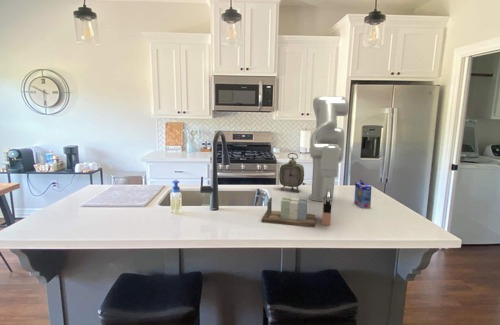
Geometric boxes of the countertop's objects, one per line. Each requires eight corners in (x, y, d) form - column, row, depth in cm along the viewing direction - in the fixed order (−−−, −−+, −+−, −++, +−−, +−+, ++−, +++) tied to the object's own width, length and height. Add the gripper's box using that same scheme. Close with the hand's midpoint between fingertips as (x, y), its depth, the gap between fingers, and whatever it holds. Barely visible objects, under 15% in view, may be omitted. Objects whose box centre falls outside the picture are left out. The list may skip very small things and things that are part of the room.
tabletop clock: (278, 190, 194) (280, 152, 190) (283, 187, 202) (285, 151, 198) (299, 193, 188) (301, 154, 184) (304, 190, 195) (306, 152, 191)
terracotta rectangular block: (322, 219, 141) (323, 195, 139) (329, 220, 140) (331, 195, 138) (322, 224, 134) (323, 199, 132) (330, 225, 134) (331, 200, 132)
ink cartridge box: (353, 202, 169) (355, 178, 167) (362, 202, 170) (364, 178, 167) (360, 208, 160) (362, 182, 157) (370, 208, 160) (372, 182, 158)
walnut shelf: (266, 213, 149) (267, 193, 147) (315, 217, 144) (316, 197, 142) (261, 221, 136) (262, 201, 135) (314, 227, 131) (315, 205, 130)
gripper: (320, 169, 143) (318, 203, 145) (320, 175, 126) (318, 214, 128) (336, 170, 141) (334, 204, 143) (339, 176, 124) (336, 216, 127)
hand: (326, 209), depth 136 cm, fingers open, 9 cm apart
